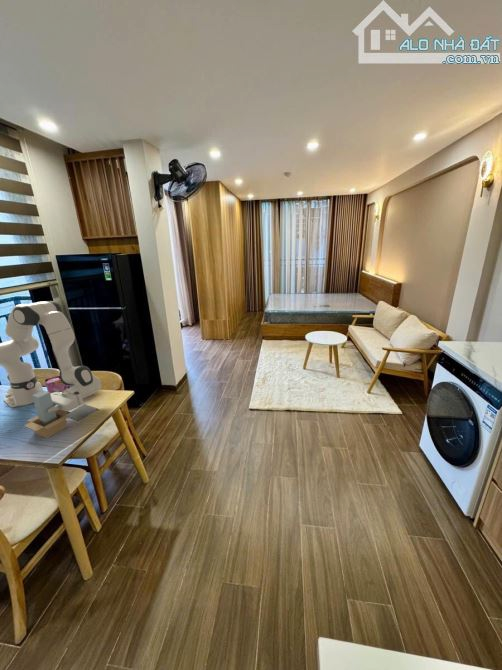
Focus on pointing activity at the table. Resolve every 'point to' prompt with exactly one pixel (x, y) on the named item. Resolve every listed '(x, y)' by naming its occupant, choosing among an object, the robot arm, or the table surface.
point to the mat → (82, 412)
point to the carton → (51, 427)
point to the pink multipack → (56, 385)
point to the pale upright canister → (44, 407)
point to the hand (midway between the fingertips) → (43, 409)
